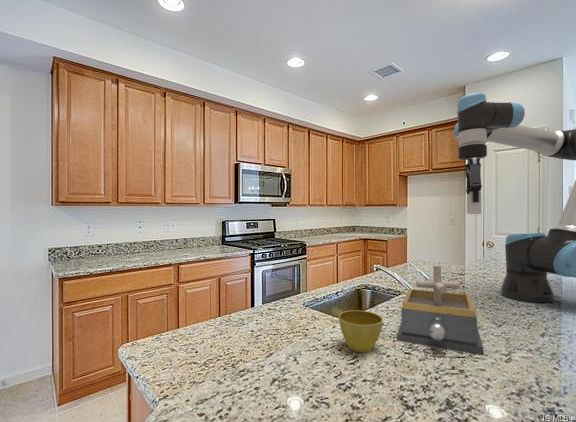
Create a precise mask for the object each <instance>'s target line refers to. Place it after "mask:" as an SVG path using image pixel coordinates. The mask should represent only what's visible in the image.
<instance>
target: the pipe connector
mask: <svg viewBox="0 0 576 422" xmlns="http://www.w3.org/2000/svg"><path fill="white" fill-rule="evenodd" d="M432 268H433V269H432V271H433V273H432V274H433V277H429V278H428V280H419V279H418V280H416V283H415V285H416V288H422V289H423V288H426V289H427V288H428V289H429V288H430V289H433V291H434V304H435V305H442V293H446V292H447V291H448V289H455V290H457V289H460V288H461V287H460V286H461V285H460V282H459V281H456V280H455V281H453V280H452V281H450V280H442V266H441V265H440V264H433V265H432Z"/></svg>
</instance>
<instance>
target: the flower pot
mask: <svg viewBox="0 0 576 422" xmlns="http://www.w3.org/2000/svg"><path fill="white" fill-rule="evenodd" d="M338 322H339V327H340V329H341V330H340V331H341V333H342V336H343V338H344V341H345V342H346V344H347V345H348V347H349V348H350V349H351V350H352V351H354V352H358V353H367V352H368V353H369V352H370V351H372V349H373V348H374V346H375V345H376V343H377V342H378V339H379V337H380V334H381V332H382V328H383V327H382V326H383V324H384V319H383V316H381V315H379V314H378V313H375V312H371V311H368V310H367V311H366V310H357V309H356V310H355V309H354V310H346V311H343V312H341V313H340V314H338Z"/></svg>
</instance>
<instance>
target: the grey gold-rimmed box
mask: <svg viewBox="0 0 576 422" xmlns="http://www.w3.org/2000/svg"><path fill="white" fill-rule="evenodd" d="M400 310H401V311H400V313H401V315H400V316H401V323H400V325H399V327H398V331H397V332H396V340H397V341H402V342H407V343H414V344H418V345H425V346H430V347H435V346H436V348H441V347H442V348H443V349H447V348H448V350H453V351H459V352H466V353H472V354H478V355H484V346H483V342H482V338H481V335H480V332H479V328H478V317H477V313H476V308H475V306H474V303H473V300H472V296H471V294H470V293H469V294H467V293H461V292H460V293H459V292H449V291H448V292H446V293H442V305H435V304H434V290H427V289H419V288H417V289H416V288H408V289H407V292H406V294H405V296H404V299H403V300H402V306H401V309H400Z"/></svg>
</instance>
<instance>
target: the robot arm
mask: <svg viewBox="0 0 576 422" xmlns="http://www.w3.org/2000/svg"><path fill="white" fill-rule="evenodd" d="M456 113H457V123H456V124H455V126H454V129H453V131H454V135H455V139H456V140H458V146H459V147H458V159H459V160H461V161H465V160H466V161H467V164H465V165H464V170H465V178H466V188H465V193H466V214H467V215H482V192H481V191H482V188H483V185H482V178H481V177H482V176H481V173H482V172H481V169H482V168H481V167H482V163H480V161H481V159H484V158H486V157H488V150H487V149H488V147H487V145H486V143H488V142H489V143H495V144H499V145H503V146H504V145H505V146H510V147H514V148H519V149H524V150H529V151H534V152H539V154H540V155H542V156H543V157H548V158H554V159H560V160H565V161H566V160H567V161H576V128H574V129H568V130H560V129H551V130H545V129H539V128H535V127H530V126H526V125H520V124H521V123H522V122H523V120H524V118H525V115H526V114H525V108H524V106H523V105H522V104H521V103H517V102H516V103H515V102H511V101H510V102H494V101H492V102H490V101H487V96H486V94H485V93H481V92H474V93H469V94H466V95H463V96H462V97H461V98H459V99H458V101H457V112H456ZM504 246H505V268H506V269H505V270H506V274H505V277H504V279H503V282H502V284H501V287H500V294H501V295H502V296H503V295H504V297H505V296H506V297H505V298H509V299H512V300H517V301H521V302H522V301H523V302H529V303H552V302H554V301H555V293H554V291H553V289H552V286H551V284H550V281H549V279H548V274H554V275H556V276H557V275H558V276H561V277H565V278H566V277H567V278H576V179H575V181H574V182H573V185H572V188H571V191H570V193H569V196H568V199H567V202H566V204H565V206H564V208H563V211H562V213H561V216H560V218H559V221H558V224H557V225H556V226H554V227H552V228H550V229H549V231H548V233H547V234H546V233H545V232H544V233H543V232H533V233H531V232H529V233H515V234H509V235H507V236H506V237H505V245H504Z"/></svg>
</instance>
